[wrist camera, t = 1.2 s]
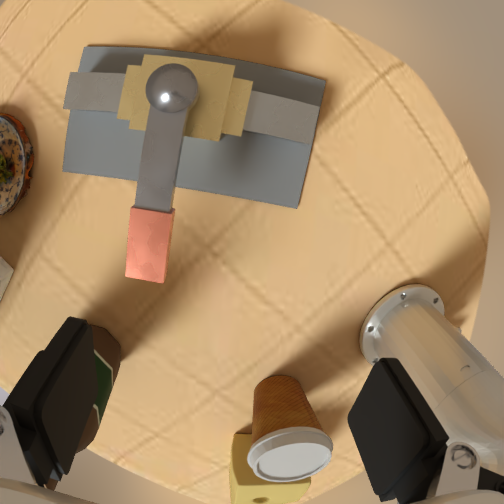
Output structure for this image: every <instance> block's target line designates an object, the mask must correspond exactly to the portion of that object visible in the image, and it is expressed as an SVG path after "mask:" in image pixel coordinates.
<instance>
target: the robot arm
mask: <svg viewBox="0 0 504 504" xmlns="http://www.w3.org/2000/svg"><path fill="white" fill-rule="evenodd" d="M444 311H445V309H444V304H443V301H442V299H441V297H440V296H439V295H438V294H437V292H435V291H434V290H433V289H432V288H430V287H428V286H426V285H421V284H410V285H406V286H403V287H400V288H398V289H396V290H394V291H392V292H390V293H389V294H387V295H386V296H385V297H383V298H382V299H381V300H380V301H379V302H378V303H377V304H376V305H375V306H374V307H373V308H372V310H371V311H370V313H369V314H368V316H367V317H366V319H365V321H364V323H363V325H362V328H361V332H360V339H359V344H360V349H361V352H362V354H363V356H364V357H365V359H366V360H367V362H369V363H370V364H371V365H372V366H373V368H372V370H371V372H370V374H369V376H368V378H367V380H366V382H365V384H364V386H363V388H362V390H361V392H360V393H359V395H358V397H357V399H356V401H355V403H354V405H353V407H352V408H351V410H350V412H349V414H348V424H349V427H350V429H351V432H352V435H353V437H354V440H355V443H356V445H357V448H358V450H359V453H360V456H361V458H362V461H363V464H364V466H365V469H366V471H367V474H368V477H369V480H370V482H371V485H372V488H373V491H374V493H375V494H376V495H379V498H380V501H381V502H383V501H388V500H393V499H395V498H397V500H398V503H397V504H504V378H503V377H502V376H501V375H500V374H499V372H498V371H497V370H496V369H495V368H494V367H493V366H492V365H491V364H490V363H489V362H488V361H487V360H486V358H485V357H484V356H483V355H482V354H481V353H480V352H479V351H478V350H477V349H476V348H475V347H474V346H473V345H472V344H471V343H470V342H469V341H468V340H467V339H466V338H465V337H464V336H463V335H462V334H461V329H460V328H459V327H454V326H453V325H452V324H451V323H450V322H449V321H448V320H447V319H446V318H445V317H444ZM97 395H98V381H97V373H96V365H95V355H94V344H93V331H92V327H91V326H89V325H88V324H87V321H86V320H83V319H79V318H75V317H68V318H67V320H66V321H65V322H64V324H63V325H62V326H61V328H60V329H59V330H58V332H57V333H56V334H55V336H54V337H53V339H52V340H51V341H50V343H49V344H48V346H47V347H46V349H45V350H42V351H39V352H38V354H37V355H36V356H35V358H34V359H33V360H32V362H31V363H30V365H29V366H28V368H27V369H26V371H25V372H24V374H23V375H22V377H21V378H20V380H19V381H18V383H17V384H16V386H15V387H14V389H13V390H12V392H11V393H10V395H9V396H8V398H7V400H6V401H5V403H4V404H3V406H1V405H0V504H97V503H94V502H90V501H86V500H83V499H80V498H76V497H73V496H69V495H67V494H63V493H60V492H56V491H53V490H50V489H47V488H46V486H45V484H48V481H49V478H52V479H55V480H58V481H61V478H62V475H63V474H65V475H67V474H68V473H69V471H70V468H71V464H72V462H73V459H74V456H75V453H76V450H77V448H78V445H79V442H80V439H81V437H82V434H83V431H84V429H85V426H86V423H87V421H88V418H89V416H90V413H91V411H92V408H93V405H94V403H95V400H96V398H97Z"/></svg>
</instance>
